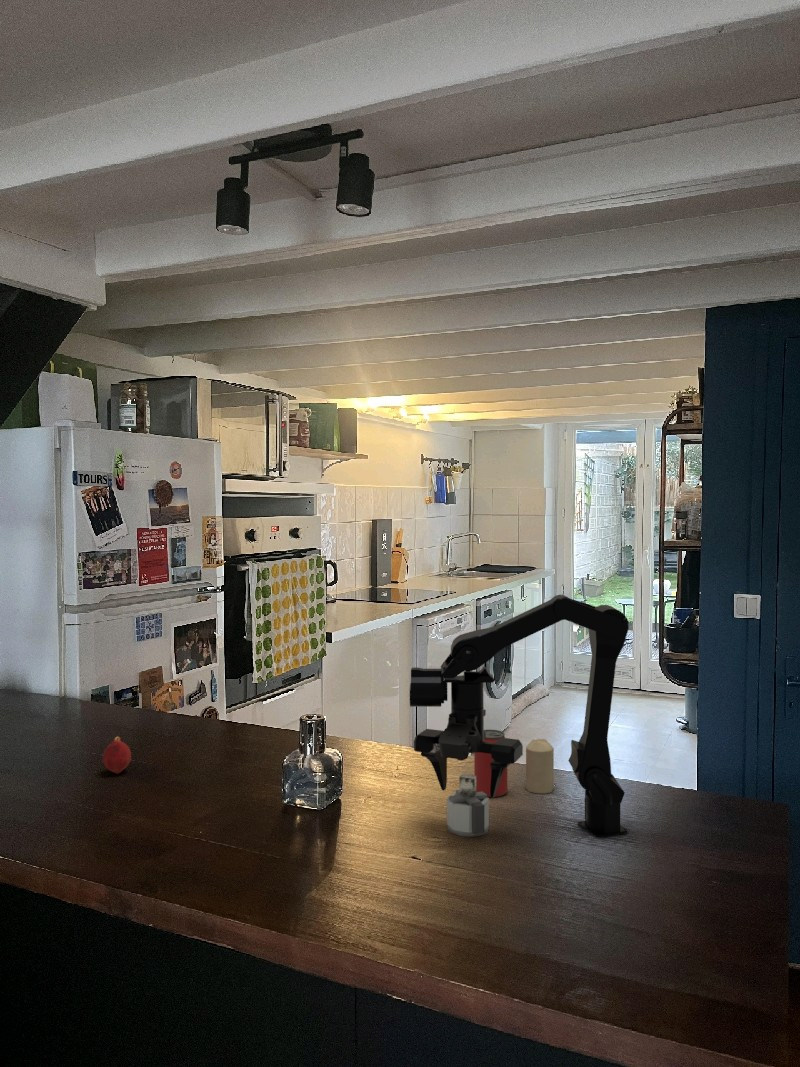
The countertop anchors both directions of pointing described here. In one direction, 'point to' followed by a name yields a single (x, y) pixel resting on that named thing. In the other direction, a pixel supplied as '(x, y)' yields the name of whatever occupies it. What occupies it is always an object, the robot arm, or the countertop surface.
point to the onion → (117, 756)
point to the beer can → (488, 767)
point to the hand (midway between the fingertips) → (467, 793)
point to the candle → (539, 766)
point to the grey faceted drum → (468, 814)
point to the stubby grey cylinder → (467, 785)
